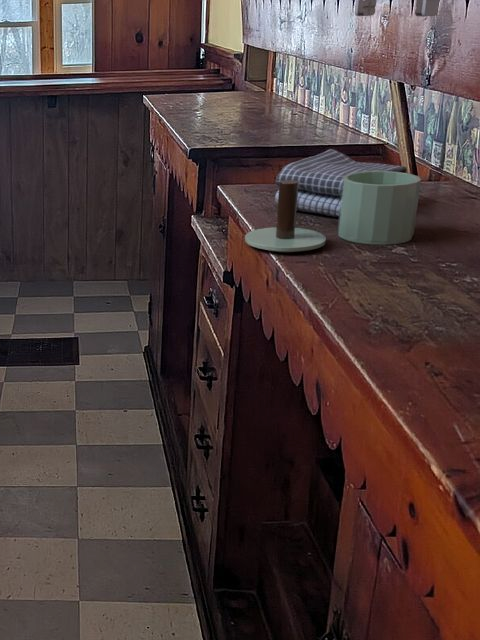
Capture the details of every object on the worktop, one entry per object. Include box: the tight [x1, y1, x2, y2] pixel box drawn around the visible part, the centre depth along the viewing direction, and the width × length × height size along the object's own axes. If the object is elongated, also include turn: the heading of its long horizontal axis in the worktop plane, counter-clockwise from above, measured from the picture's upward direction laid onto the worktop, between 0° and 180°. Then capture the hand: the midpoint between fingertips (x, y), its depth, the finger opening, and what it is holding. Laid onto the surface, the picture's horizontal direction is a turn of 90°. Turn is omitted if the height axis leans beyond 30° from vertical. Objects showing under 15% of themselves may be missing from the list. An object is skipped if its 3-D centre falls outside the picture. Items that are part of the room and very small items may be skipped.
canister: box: [337, 171, 422, 246], centre depth 126 cm, size 10×10×8 cm
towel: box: [273, 148, 408, 218], centre depth 143 cm, size 15×18×8 cm
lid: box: [244, 180, 327, 253], centre depth 124 cm, size 11×11×9 cm
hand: (393, 16), depth 98 cm, fingers open, 8 cm apart
